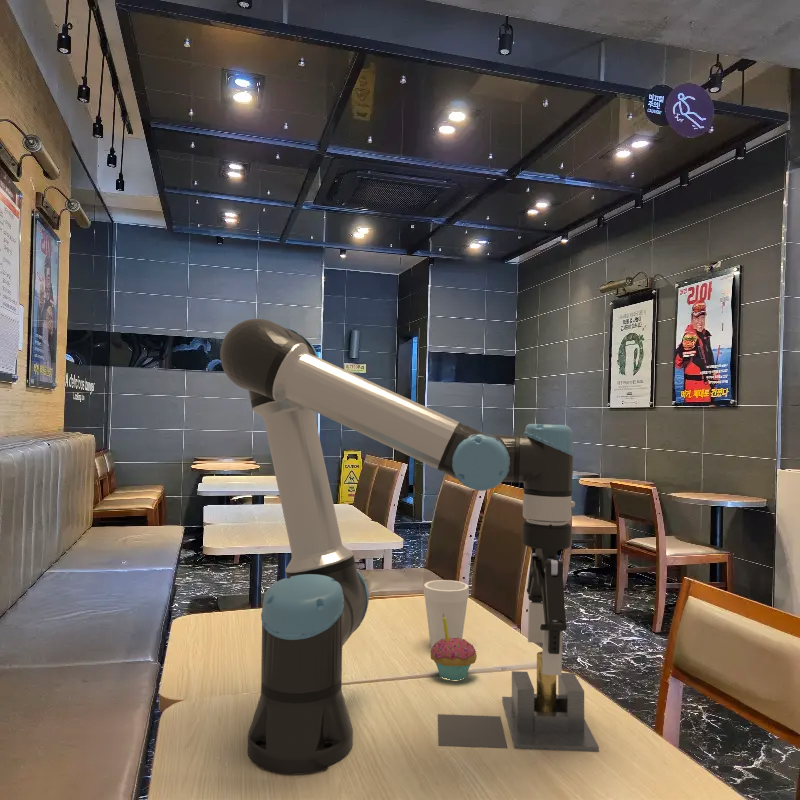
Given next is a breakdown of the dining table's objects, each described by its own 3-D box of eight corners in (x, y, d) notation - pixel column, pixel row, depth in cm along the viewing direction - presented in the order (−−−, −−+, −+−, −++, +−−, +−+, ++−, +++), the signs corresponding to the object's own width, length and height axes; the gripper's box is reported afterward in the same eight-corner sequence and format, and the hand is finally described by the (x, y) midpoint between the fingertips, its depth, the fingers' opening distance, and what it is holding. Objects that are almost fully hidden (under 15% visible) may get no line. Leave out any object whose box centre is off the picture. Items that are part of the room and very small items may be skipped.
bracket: (514, 751, 91) (514, 701, 91) (502, 702, 107) (502, 660, 107) (598, 754, 90) (598, 704, 91) (573, 705, 106) (573, 662, 107)
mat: (438, 748, 92) (438, 745, 92) (437, 716, 102) (437, 714, 102) (507, 750, 91) (507, 748, 91) (500, 718, 101) (500, 716, 101)
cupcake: (438, 689, 112) (439, 621, 113) (424, 671, 120) (424, 607, 121) (483, 684, 114) (483, 617, 115) (466, 667, 123) (466, 604, 123)
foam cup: (468, 641, 138) (468, 581, 138) (468, 656, 128) (469, 592, 129) (424, 639, 139) (425, 579, 139) (421, 654, 129) (422, 590, 130)
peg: (538, 723, 97) (538, 658, 98) (535, 714, 100) (535, 651, 101) (557, 724, 97) (558, 658, 98) (554, 715, 100) (554, 651, 101)
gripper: (590, 536, 87) (587, 691, 87) (555, 511, 112) (552, 632, 112) (536, 533, 88) (532, 688, 87) (512, 509, 113) (509, 629, 112)
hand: (543, 657), depth 99 cm, fingers open, 13 cm apart
